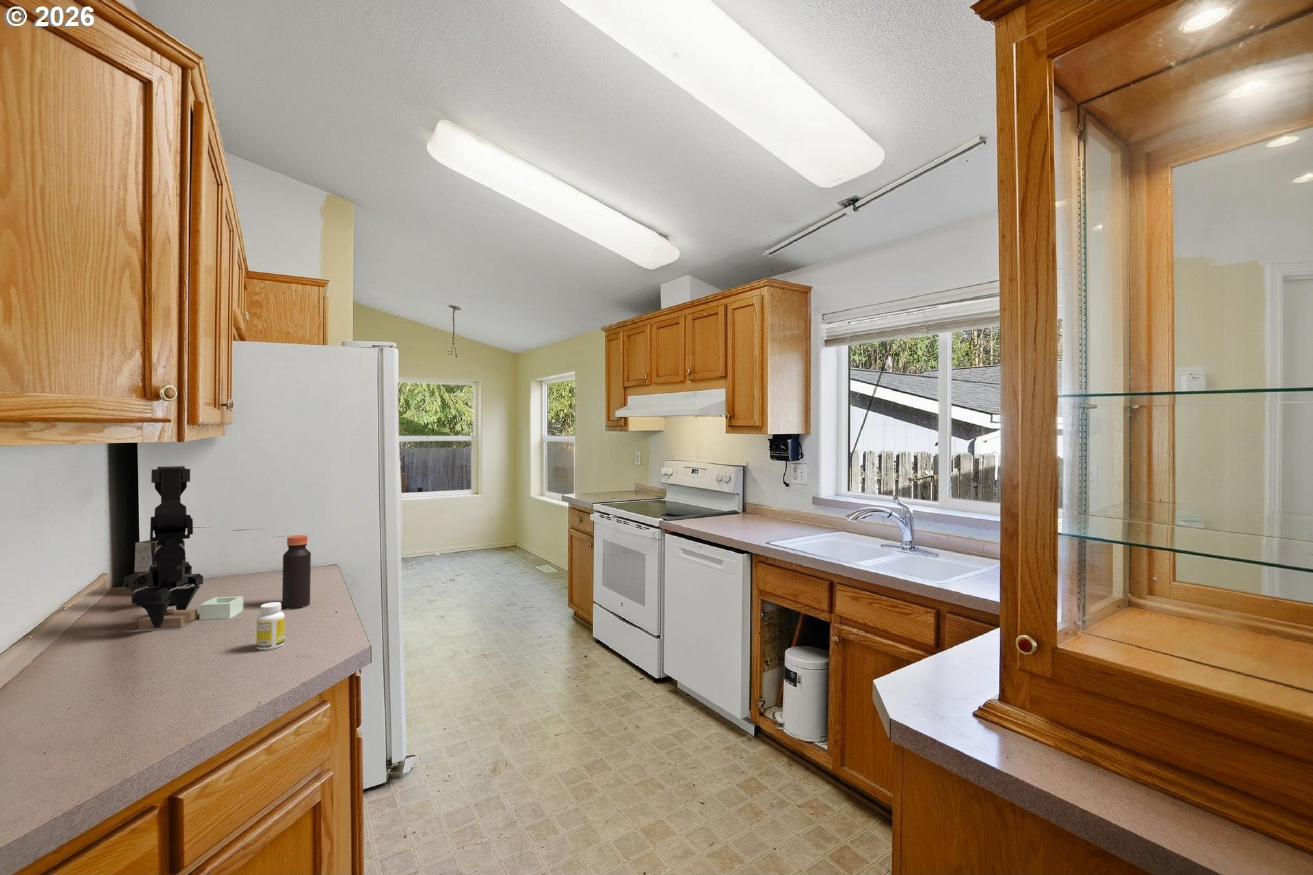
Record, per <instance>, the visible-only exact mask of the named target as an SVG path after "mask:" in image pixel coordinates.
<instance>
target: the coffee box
mask: <svg viewBox="0 0 1313 875" xmlns="http://www.w3.org/2000/svg"><path fill="white" fill-rule="evenodd" d="M156 542H157V541H151V542H150V539H148V540H142V541H138V542H135V546H134V548H135V550H134V574H135V573H136V574H137V575H139V576H141V575H144V574H146V573H149V568H150V565H153V561H154V556H155V543H156ZM144 588H148V586H146V587H143V588H140V589H136V590H135V591H133V594H134V593H135V592H136V591H139V590H141V589H144ZM153 588H156V587H153Z"/></svg>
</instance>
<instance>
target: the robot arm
mask: <svg viewBox="0 0 1313 875" xmlns="http://www.w3.org/2000/svg"><path fill="white" fill-rule="evenodd" d="M185 467H186V466H185V465H182V466H181V465H178V466H177V465H169V466H163V465H162V466H157V468H155V469H151V474H150V475H151V479H150V481H151V484H154V489H155V491H156V492H157V493H158V495H159V496H160V504H159V505H157V506H155V508H154V516H150V528H149V540H150V542H151V541H157V542H156V543H155V556H154V561H153V565H150V568H149V573H146V574H144V575H141V576H139V575H137V574H136V573H135V572H134V573H132V574H130V575H127V576H124V579H123V585H122V587H123V588H124V589H126V590H129V592H130V593H131V592H132V594H131V596H130V603H131V604H132V605H135V606H136V607H141V608H143V609H145V611H146V613H147V616H148V615H149V617H150V619H151V622H152V624H153V626H154V628H159V627H160V626H161V624H162V621H163V618H164V616H165V613H166V610H168V608H169V607H175V610H188V607H189V605H190V604H191V601H192V600H193V598H194V597H195V595H196V593H197V592H198V590H199V589H200V588H201V585H203V584H204V576H203V575H202V574H200V573H192V571H193V567H192V565H191V564H190V563H189V562H190V561H187V557H186V546H185V545H186V542H185V539H191V535H194V523H193V522H194V519H193V518H192V516H191V515H190V514H187V506H186V505H185V504H183V503H182V501H181V497H182V494H183V493H184V492H185V491H186V489H187V487H188V483H190V482H191V468H185ZM146 586H148V588H144V589H141V590H139V591H136V592H135V593H134V591H135V590H136V589H140V588H143V587H146ZM153 587H156V588H153Z"/></svg>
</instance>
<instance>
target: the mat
mask: <svg viewBox="0 0 1313 875" xmlns="http://www.w3.org/2000/svg"><path fill="white" fill-rule="evenodd" d="M198 620H199V616H197V619H196V620H194V621H192V622H190V623H189V624H187V625H185V626H183V627H181V628H164V629H143V630H139V628H138V629H135V630H133V631H132V633H140V632H141V633H142V632H160V631H161V632H162V631H179V630H182V629H183V628H186V627H187V626H189V625H191V624H192V623H194V622H196V621H198Z"/></svg>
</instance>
